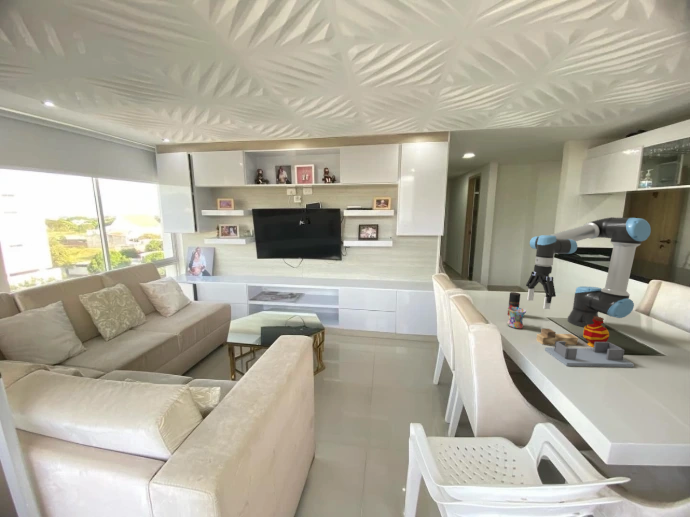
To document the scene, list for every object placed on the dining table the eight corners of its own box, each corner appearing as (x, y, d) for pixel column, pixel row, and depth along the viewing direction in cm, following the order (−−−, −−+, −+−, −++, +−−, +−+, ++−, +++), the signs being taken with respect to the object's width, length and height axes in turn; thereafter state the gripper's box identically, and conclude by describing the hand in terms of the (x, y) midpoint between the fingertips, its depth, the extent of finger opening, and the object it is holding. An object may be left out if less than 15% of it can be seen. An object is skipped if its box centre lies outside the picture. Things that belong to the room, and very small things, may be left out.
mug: (522, 331, 159) (524, 313, 157) (504, 326, 165) (506, 309, 163) (526, 324, 168) (528, 308, 166) (509, 320, 174) (510, 304, 172)
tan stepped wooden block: (570, 341, 148) (571, 328, 146) (577, 345, 143) (579, 332, 142) (536, 340, 148) (538, 328, 146) (542, 344, 143) (544, 332, 142)
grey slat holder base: (604, 351, 136) (606, 338, 135) (633, 367, 122) (635, 353, 121) (544, 350, 137) (546, 338, 136) (566, 365, 123) (568, 352, 122)
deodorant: (505, 313, 186) (507, 292, 183) (513, 313, 186) (516, 292, 183) (511, 317, 180) (513, 294, 177) (520, 316, 180) (522, 294, 178)
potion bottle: (602, 352, 135) (607, 323, 133) (576, 343, 144) (581, 316, 142) (611, 347, 140) (616, 319, 137) (586, 339, 149) (591, 312, 146)
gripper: (522, 260, 156) (517, 296, 159) (552, 269, 131) (546, 312, 135) (535, 261, 156) (530, 297, 159) (568, 270, 131) (562, 313, 135)
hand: (537, 304), depth 147 cm, fingers open, 13 cm apart
